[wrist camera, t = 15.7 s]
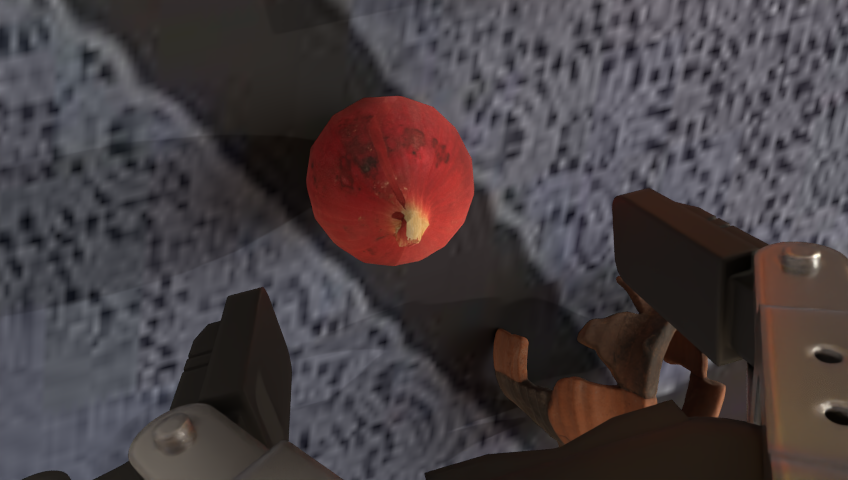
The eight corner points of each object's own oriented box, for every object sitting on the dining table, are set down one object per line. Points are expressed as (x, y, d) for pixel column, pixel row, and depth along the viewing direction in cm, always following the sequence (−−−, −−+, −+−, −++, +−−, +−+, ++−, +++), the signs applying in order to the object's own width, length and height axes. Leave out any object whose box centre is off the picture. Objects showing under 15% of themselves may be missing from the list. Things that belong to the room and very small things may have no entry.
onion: (277, 130, 22) (263, 194, 15) (403, 54, 22) (453, 80, 14) (355, 245, 24) (377, 347, 17) (469, 176, 24) (540, 251, 17)
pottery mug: (474, 274, 27) (631, 304, 20) (594, 244, 32) (747, 260, 26) (487, 504, 28) (634, 600, 22) (598, 438, 34) (741, 498, 28)
